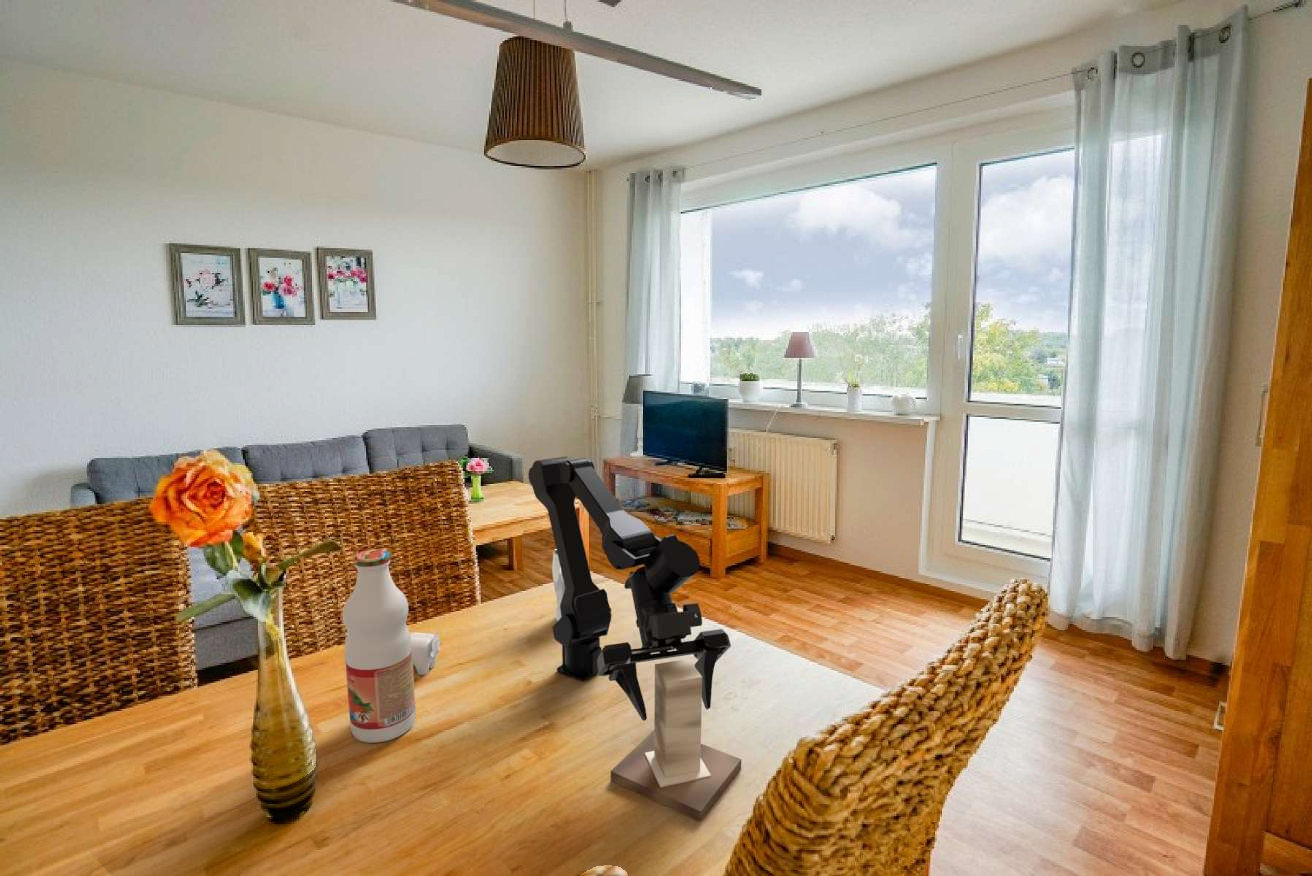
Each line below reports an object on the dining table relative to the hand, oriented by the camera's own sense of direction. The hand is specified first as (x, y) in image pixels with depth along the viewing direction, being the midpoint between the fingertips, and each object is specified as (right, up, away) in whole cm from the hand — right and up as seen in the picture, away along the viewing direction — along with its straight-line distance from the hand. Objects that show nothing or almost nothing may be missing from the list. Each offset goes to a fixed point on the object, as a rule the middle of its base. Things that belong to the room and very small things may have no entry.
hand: (677, 714), depth 91 cm
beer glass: (-21, -1, +50) cm, 54 cm away
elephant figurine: (-46, -4, +30) cm, 55 cm away
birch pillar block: (0, -7, +1) cm, 7 cm away
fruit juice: (-45, -7, +12) cm, 47 cm away
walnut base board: (0, -9, +2) cm, 9 cm away
